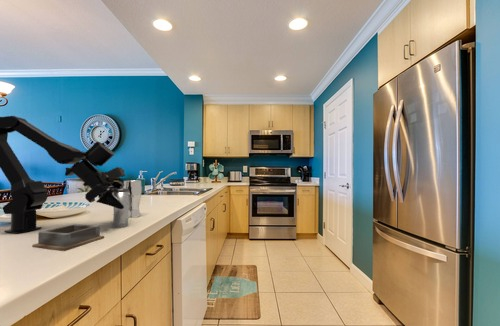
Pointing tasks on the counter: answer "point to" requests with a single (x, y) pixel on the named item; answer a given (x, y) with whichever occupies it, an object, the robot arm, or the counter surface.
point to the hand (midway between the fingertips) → (125, 207)
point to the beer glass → (133, 197)
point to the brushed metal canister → (121, 214)
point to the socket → (68, 237)
